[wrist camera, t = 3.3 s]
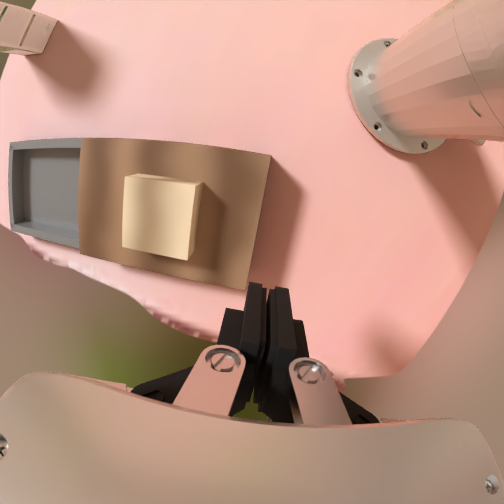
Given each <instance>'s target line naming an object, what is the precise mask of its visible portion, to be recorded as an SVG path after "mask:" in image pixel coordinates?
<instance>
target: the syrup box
mask: <svg viewBox="0 0 504 504" xmlns="http://www.w3.org/2000/svg"><path fill="white" fill-rule="evenodd" d="M57 21H58V20H56V19H54V18H51V17H49V16H47V15H44V14H41V13H38V12H35V11H32V10H29V9H26V8H22V7H19V6H16V5H12V4H8V3H4V2H0V52H6V53H12V54H19V55H31V54H41V53H42V52H43V50H44V48H45V46H46V44H47V42H48V40H49V38H50V35H51V33H52V31H53V29H54V27H55V25H56V23H57Z"/></svg>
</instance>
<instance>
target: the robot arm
mask: <svg viewBox="0 0 504 504" xmlns="http://www.w3.org/2000/svg"><path fill="white" fill-rule="evenodd" d="M354 73H356V74H357V75H358V77H357V76H355V74H354ZM348 90H349V96H350V99H351V102H352V105H353V108H354V110H355V112H356V114H357V115H358V117H359V119H360V121H361V122H362V123H363V125H364V126H365V127H366V129H367V130H368V131H369V132H370V133H371V134H372V135H373V136H374V137H375V138H376V139H378V140H379V141H380V142H382V143H383V144H385V145H386V146H388V147H390V148H392V149H394V150H396V151H400V152H404V153H411V154H421V153H427V152H430V151H433V150H434V149H436V148H438V147H439V146H440V145H441V144H442V143H443V142H444V141H445V140H446V139H468V140H470V141H472V142H473V143H475V144H476V145H478V146H481V145H483V144H484V142H485V140H488V141H499V142H504V0H453V1H451V2H450V3H448V4H447V5H445V6H444V7H442V8H441V9H439V10H438V11H436V12H435V13H433V14H432V15H431V16H429V17H428V18H426V19H425V20H423V21H422V22H421V23H419V24H418V25H417V26H415V27H414V28H412V29H411V30H410V31H408V32H407V33H406V34H404V35H403V36H402V37H400V38H399V39H393V38H382V39H378V40H373V41H371V42H370V43H368V44H366V45H364V46H363V47H362V48H361V49H360V50H359V51H358V52H357V54H356V55H355V56H354V57H353V60H352V62H351V64H350V66H349V71H348ZM374 125H376V126H377V129H376V130H375V128H374ZM421 144H422V146H421ZM266 290H267V289H266V288H262V284H259V283H253V282H249V286H248V291H247V296H246V301H245V307H244V311H241V310H235V309H230V308H226V310H225V314H224V318H223V322H222V326H221V330H220V334H219V338H218V342H217V345H214V346H210V347H208V348H206V349H205V350H204V351H203V352H202V353H201V355H200V357H199V358H198V360H197V362H196V364H195V365H194V366H192V367H189V368H187V369H184V370H181V371H178V372H176V373H172V374H169V375H167V376H164V377H161V378H158V379H155V380H152V381H149V382H145V383H142V384H140V385H138V386H136V387H134V388H128V387H127V385H126V384H121V383H114V382H109V381H103V380H97V379H92V378H87V377H82V376H77V375H71V374H66V373H58V372H47V371H45V372H44V371H42V372H33V373H30V374H27V375H26V376H24V377H22V378H21V379H19V380H18V381H17V382H15V383H14V384H13V385H12V386H11V387H10V388H9V389H8V390H7V391H6V392H5V393H4V394H3V396H2V397H1V398H0V504H504V482H503V479H502V476H501V474H500V471H499V469H498V466H497V464H496V461H495V459H494V457H493V454H492V452H491V450H490V448H489V446H488V444H487V443H486V441H485V439H484V437H483V436H482V434H481V433H480V431H479V430H478V429H477V428H476V427H475V426H474V425H473V424H471V423H469V422H466V421H463V420H458V419H453V418H429V419H419V420H409V421H406V420H397V419H388V418H381V419H380V420H378V419H377V418H376V417H375V416H374V415H373V414H372V413H370V412H368V411H367V410H365V409H364V408H362V407H361V406H359V405H358V404H356V403H355V402H353V401H352V400H350V399H349V398H347V397H346V396H345V395H343V394H342V393H340V392H339V391H338V389H337V387H336V385H335V382H334V380H333V378H332V376H331V373H330V371H329V369H328V368H327V367H326V366H325V365H324V364H323V363H322V362H320V361H318V360H316V359H312V358H309V352H308V347H307V341H306V335H305V330H304V325H303V321H302V320H295V319H293V317H292V309H291V302H290V295H289V289H287V288H281V287H275V289H274V290H273V289H270V291H269V295H268V299H267V303H266ZM253 388H254V397H253V403H258V411H259V412H263V413H265V414H266V415H267V416H268V417H269V418H268V421H259V420H251V419H244V418H237V417H233V415H234V414H236V413H237V412H239V411H241V410H243V409H244V408H245V404H246V402H249V401H250V398H251V395H252V392H253Z"/></svg>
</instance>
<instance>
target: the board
mask: <svg viewBox="0 0 504 504" xmlns="http://www.w3.org/2000/svg"><path fill="white" fill-rule="evenodd" d="M270 159H271V155H266V154H260V153H255V152H249V151H243V150H236V149H230V148H223V147H216V146H208V145H200V144H191V143H182V142H171V141H159V140H145V139H125V138H82V141H81V151H80V163H79V180H78V232H79V250H80V254H83V255H87V256H91V257H95V258H99V259H103V260H107V261H111V262H115V263H119V264H123V265H127V266H132V267H136V268H140V269H144V270H149V271H153V272H158V273H162V274H167V275H171V276H176V277H180V278H185V279H190V280H195V281H199V282H204V283H209V284H214V285H219V286H224V287H229V288H234V289H240V290H246V284H247V279H248V274H249V269H250V264H251V258H252V253H253V248H254V243H255V238H256V232H257V227H258V222H259V217H260V211H261V206H262V201H263V196H264V191H265V185H266V180H267V175H268V170H269V164H270ZM134 174H147V175H155V176H164V177H171V178H179V179H186V180H193V181H200V182H203V188H202V195H201V202H200V210H199V218H198V226H197V235H196V244H195V250H194V252H193V253H192V255H191V256H190V257H189V259H188V260H182V259H177V258H172V257H167V256H163V255H158V254H153V253H148V252H144V251H139V250H134V249H130V248H125V247H122V220H123V197H124V182H125V176H130V175H134Z"/></svg>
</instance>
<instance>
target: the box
mask: <svg viewBox="0 0 504 504" xmlns="http://www.w3.org/2000/svg"><path fill="white" fill-rule="evenodd" d="M81 141H82V138H60V139H42V140H29V141H19V142H10V149H9V173H8V188H9V211H10V224H11V230H12V231H15V232H19V233H22V234H26V235H29V236H33V237H37V238H40V239H44V240H47V241H51V242H55V243H59V244H62V245H66V246H70V247H74V248H78V249H79V232H78V180H79V163H80V151H81Z"/></svg>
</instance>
